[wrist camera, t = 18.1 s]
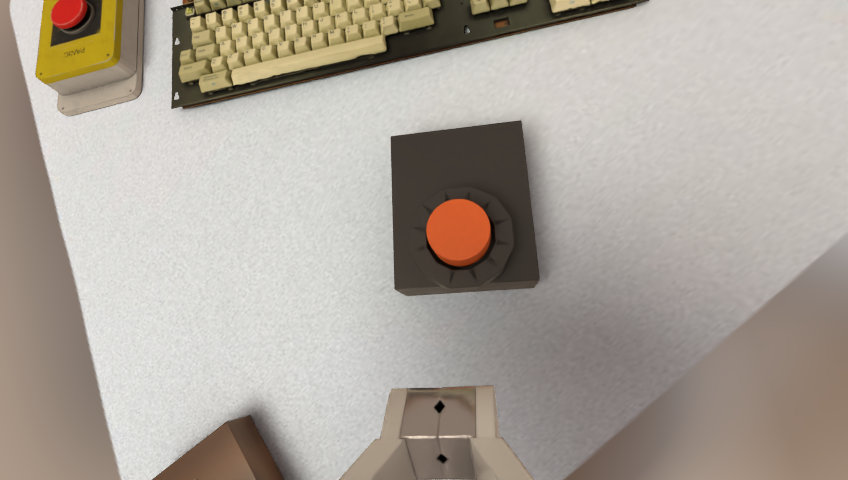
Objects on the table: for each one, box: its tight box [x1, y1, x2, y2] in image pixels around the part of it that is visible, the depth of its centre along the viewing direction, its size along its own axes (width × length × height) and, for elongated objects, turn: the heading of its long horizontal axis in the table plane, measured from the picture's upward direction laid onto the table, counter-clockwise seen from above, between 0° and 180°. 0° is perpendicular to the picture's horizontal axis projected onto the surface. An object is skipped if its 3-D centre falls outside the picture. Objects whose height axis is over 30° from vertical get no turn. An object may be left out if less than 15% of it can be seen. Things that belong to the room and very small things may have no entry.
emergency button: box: [35, 0, 144, 116], centre depth 43 cm, size 9×4×15 cm
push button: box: [426, 199, 491, 266], centre depth 27 cm, size 4×4×2 cm
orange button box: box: [391, 121, 539, 296], centre depth 31 cm, size 12×10×6 cm
